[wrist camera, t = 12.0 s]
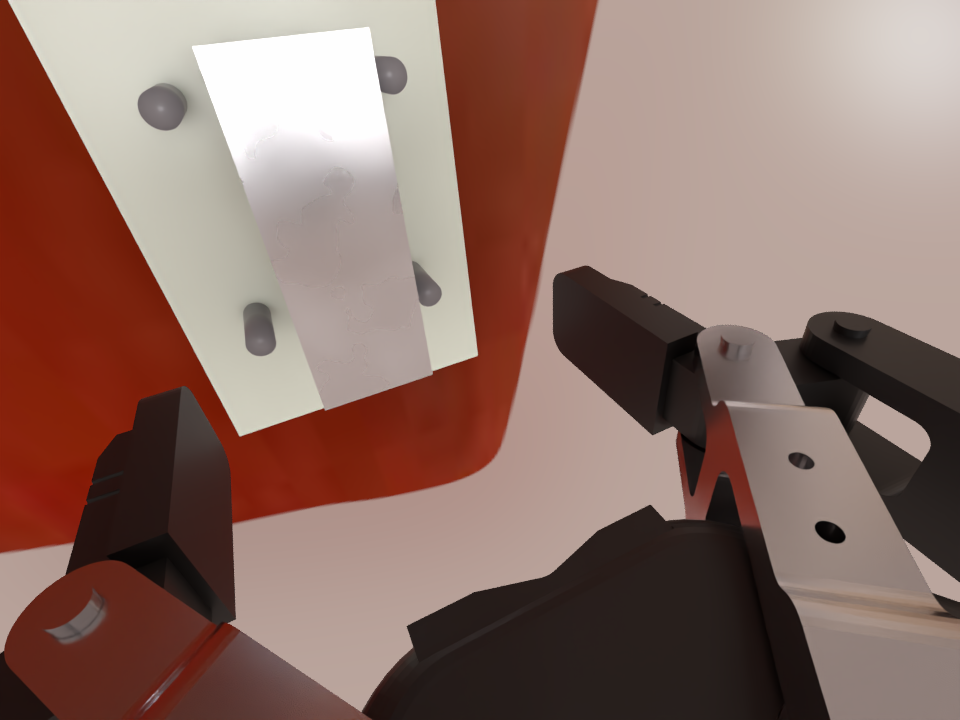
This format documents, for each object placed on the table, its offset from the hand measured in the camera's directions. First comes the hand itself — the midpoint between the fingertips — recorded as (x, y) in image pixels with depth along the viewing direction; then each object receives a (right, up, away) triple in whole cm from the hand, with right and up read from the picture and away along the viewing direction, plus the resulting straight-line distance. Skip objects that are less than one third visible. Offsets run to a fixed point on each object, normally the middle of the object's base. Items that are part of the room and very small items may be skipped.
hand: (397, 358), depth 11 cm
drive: (-6, +7, +11) cm, 14 cm away
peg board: (-6, +8, +12) cm, 16 cm away
